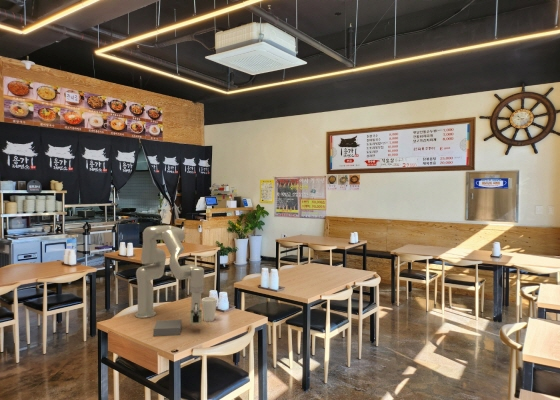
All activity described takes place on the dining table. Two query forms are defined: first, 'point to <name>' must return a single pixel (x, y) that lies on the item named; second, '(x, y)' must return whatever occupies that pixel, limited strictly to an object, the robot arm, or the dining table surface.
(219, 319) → the dining table surface
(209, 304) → the foam cup
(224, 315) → the dining table surface
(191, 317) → the cube
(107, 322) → the dining table surface
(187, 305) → the dining table surface
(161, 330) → the block
